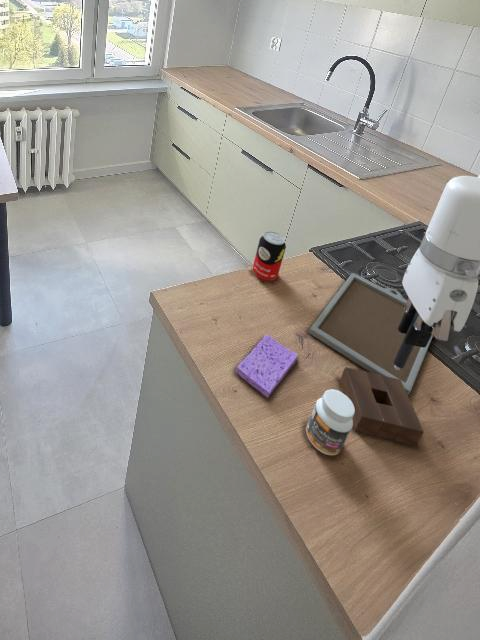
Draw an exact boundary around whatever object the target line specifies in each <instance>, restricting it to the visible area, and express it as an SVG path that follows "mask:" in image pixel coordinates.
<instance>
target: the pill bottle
mask: <svg viewBox="0 0 480 640" xmlns="http://www.w3.org/2000/svg"><path fill="white" fill-rule="evenodd" d="M354 413H355V408H354V405H353V403H352V401H351V400H350V399H349V398H348V397H347V396H346V395H345V394H344V392H343V391H340V390H337V389H326V391H324V392H323V394H322V396H321V397H319V398H318V399H317V400H316V402H315V405H314V407H313V410H312V412H311V415H310V417H309V419H308V422H307V424H306V428H305V431H306V436H307V438H308V440H309V442H310V443H311V445H312V446H313V447H314V448H315V449H316V450H318V451H319V452H320V453H322V454H324V455H327V456H336V455H338V454H339V453H340V452H341V451H342V449H343V447H344V445H345V443H346V441H347V439H348V437H349V435H350V433H351V431H352V430H353V427H354V425H353V419H352V418H353V415H354Z"/></svg>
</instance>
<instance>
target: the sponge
mask: <svg viewBox="0 0 480 640" xmlns="http://www.w3.org/2000/svg"><path fill="white" fill-rule="evenodd" d="M298 357H299V354H297V353H296V352H295V351H292V350H291V349H290V348H288V347H286V346H284V345H282V344H281V343H280V342H278V341H277V340H276V339H274V338H273V337H272V336H270V335H268V334H267V333H266V334H265V336H263V338H262V339H261V340H260V341H259V343H258V344H257V345H256V346H255V347H254V348H253V349H252V350H251V352H250V353H249V354H248V355H247V356H246V357H245V358H243V360H242V361H240V363H239V364H238V366H237V367H236V369H235V372H236V373H237V375H239V377H241V378H242V379H243V380H244V381H245V382H247V383H248V384H249V385H251V386H252V387H253V388H254V389H256V390H257V391H258V392H259V393H261V394H262V395H263V396H265V398H267V399H268V398H269V397H270V395H271V394H272V393H273V392H274V390H275V389H276V388H277V386H278V385H279V384H280V383H281V382H282V380H283V379H284V378H285V376H286V374H287V373H288V372H289V371H290V369H291V368H292V367H293V366H294V365H295V364H296V362H297V359H298Z"/></svg>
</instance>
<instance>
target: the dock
mask: <svg viewBox="0 0 480 640" xmlns="http://www.w3.org/2000/svg"><path fill="white" fill-rule="evenodd" d="M339 383H340V386H341V389H342V393H343V394H345V395H346V396H347V397H348V398H349V399H350V400H351V401H352V403H353V405H354V408H355V413H354V415H353V418H352V419H353V427H354V431H357V432H361V433H364V434H368V435H372V436H377V437H379V438H384V439H388V440H392V441H396V442H399V443H404V444H407V445H410V446H417V445H418V443H419V441H420V440H421V438H422V436H423V435H424V433H425V431H424V429H423V426H422V424H421V421H420V419H419V418H418V415H417V413H416V411H415V409H414V406H413V404H412V402H411V399H410V398H409V395H407V393H406V391H405V389H404V386H403V384H402V382H401V380H400V379H396V378H391V377H387V376H383V375H378V374H374V373H370V372H369V371H365V370H360V369H356V368H351V367H347V366H345V367H344V369H343V371H342V374H341V376H340V379H339Z"/></svg>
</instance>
